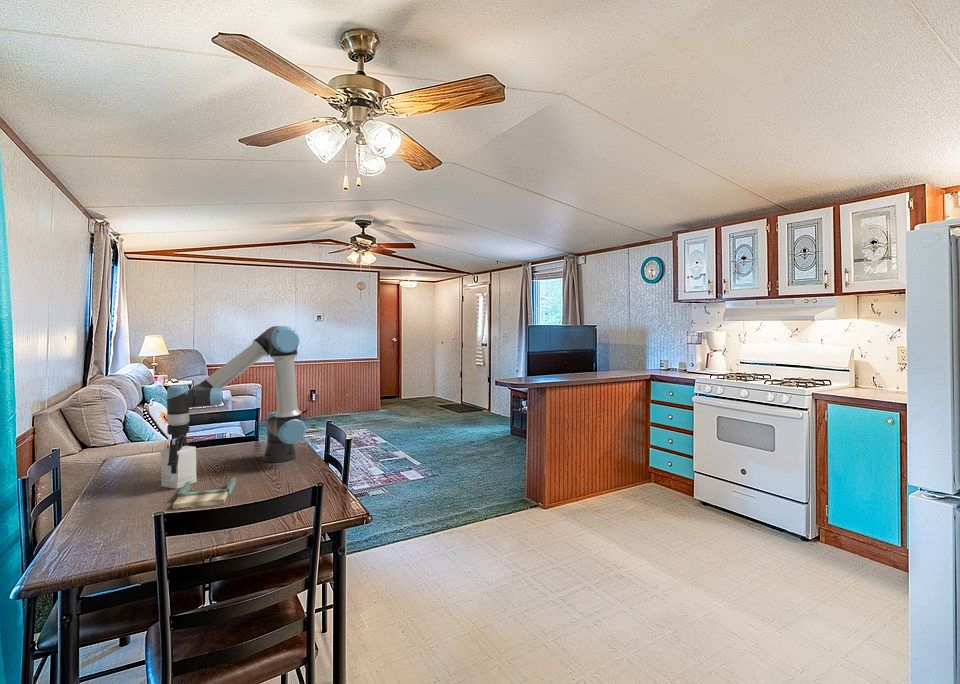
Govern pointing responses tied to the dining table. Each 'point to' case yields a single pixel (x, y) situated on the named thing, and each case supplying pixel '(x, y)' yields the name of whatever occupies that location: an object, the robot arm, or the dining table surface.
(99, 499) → the dining table surface
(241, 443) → the dining table surface
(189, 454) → the supplement box
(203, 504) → the green and wood frame
